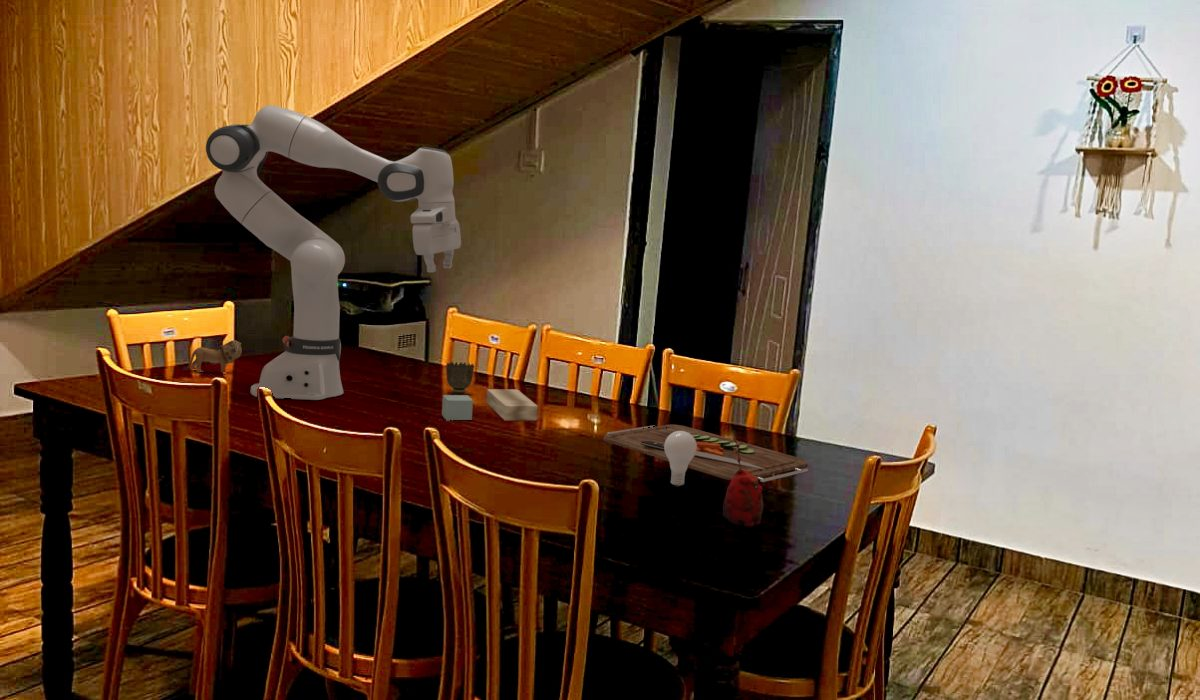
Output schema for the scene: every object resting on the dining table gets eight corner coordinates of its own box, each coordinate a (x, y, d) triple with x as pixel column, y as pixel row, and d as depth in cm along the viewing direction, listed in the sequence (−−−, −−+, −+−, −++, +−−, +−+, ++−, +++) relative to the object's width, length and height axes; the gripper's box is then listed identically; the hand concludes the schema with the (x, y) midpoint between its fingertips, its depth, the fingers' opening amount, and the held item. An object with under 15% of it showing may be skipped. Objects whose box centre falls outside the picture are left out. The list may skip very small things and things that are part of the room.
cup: (470, 397, 271) (472, 367, 270) (442, 395, 271) (444, 365, 270) (474, 392, 278) (476, 362, 277) (447, 390, 279) (448, 360, 277)
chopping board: (822, 470, 225) (823, 456, 224) (746, 488, 206) (748, 473, 206) (667, 426, 256) (668, 414, 256) (590, 439, 238) (591, 426, 237)
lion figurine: (242, 371, 283) (243, 339, 281) (240, 375, 278) (240, 342, 276) (184, 370, 279) (185, 337, 278) (181, 373, 274) (182, 340, 273)
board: (504, 420, 248) (505, 406, 247) (486, 402, 266) (487, 389, 266) (536, 420, 250) (537, 406, 250) (516, 402, 269) (517, 389, 268)
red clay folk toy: (761, 531, 178) (769, 446, 176) (720, 525, 180) (728, 441, 177) (761, 517, 186) (770, 436, 184) (722, 513, 187) (730, 432, 185)
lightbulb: (691, 482, 206) (696, 428, 204) (695, 491, 199) (700, 436, 198) (659, 480, 205) (664, 426, 204) (662, 489, 199) (667, 433, 197)
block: (446, 421, 243) (447, 400, 242) (441, 415, 249) (442, 395, 248) (471, 421, 245) (472, 400, 244) (466, 415, 251) (467, 395, 250)
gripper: (443, 212, 266) (445, 265, 268) (406, 216, 246) (410, 274, 249) (465, 211, 264) (468, 266, 266) (431, 216, 245) (434, 274, 247)
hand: (439, 270), depth 258 cm, fingers open, 8 cm apart
